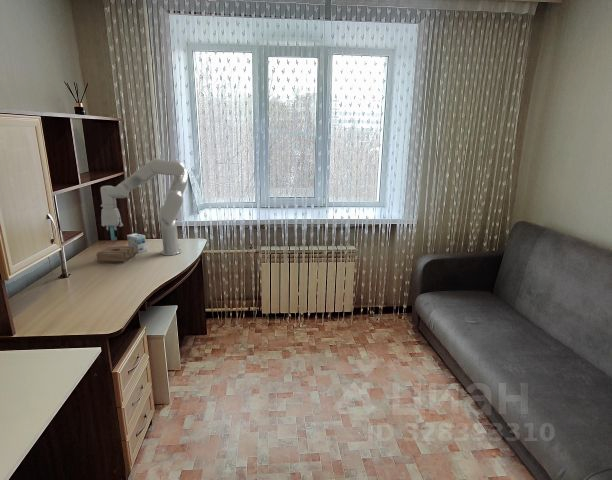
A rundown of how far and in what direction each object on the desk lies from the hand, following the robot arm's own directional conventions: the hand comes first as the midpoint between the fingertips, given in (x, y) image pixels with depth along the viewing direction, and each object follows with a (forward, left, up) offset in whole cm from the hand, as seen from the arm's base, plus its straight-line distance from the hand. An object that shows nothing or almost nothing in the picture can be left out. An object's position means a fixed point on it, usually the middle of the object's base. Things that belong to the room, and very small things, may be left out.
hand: (113, 235), depth 244 cm
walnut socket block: (0, 0, -15) cm, 15 cm away
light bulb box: (-17, +5, -15) cm, 24 cm away
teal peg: (0, 0, -3) cm, 3 cm away
